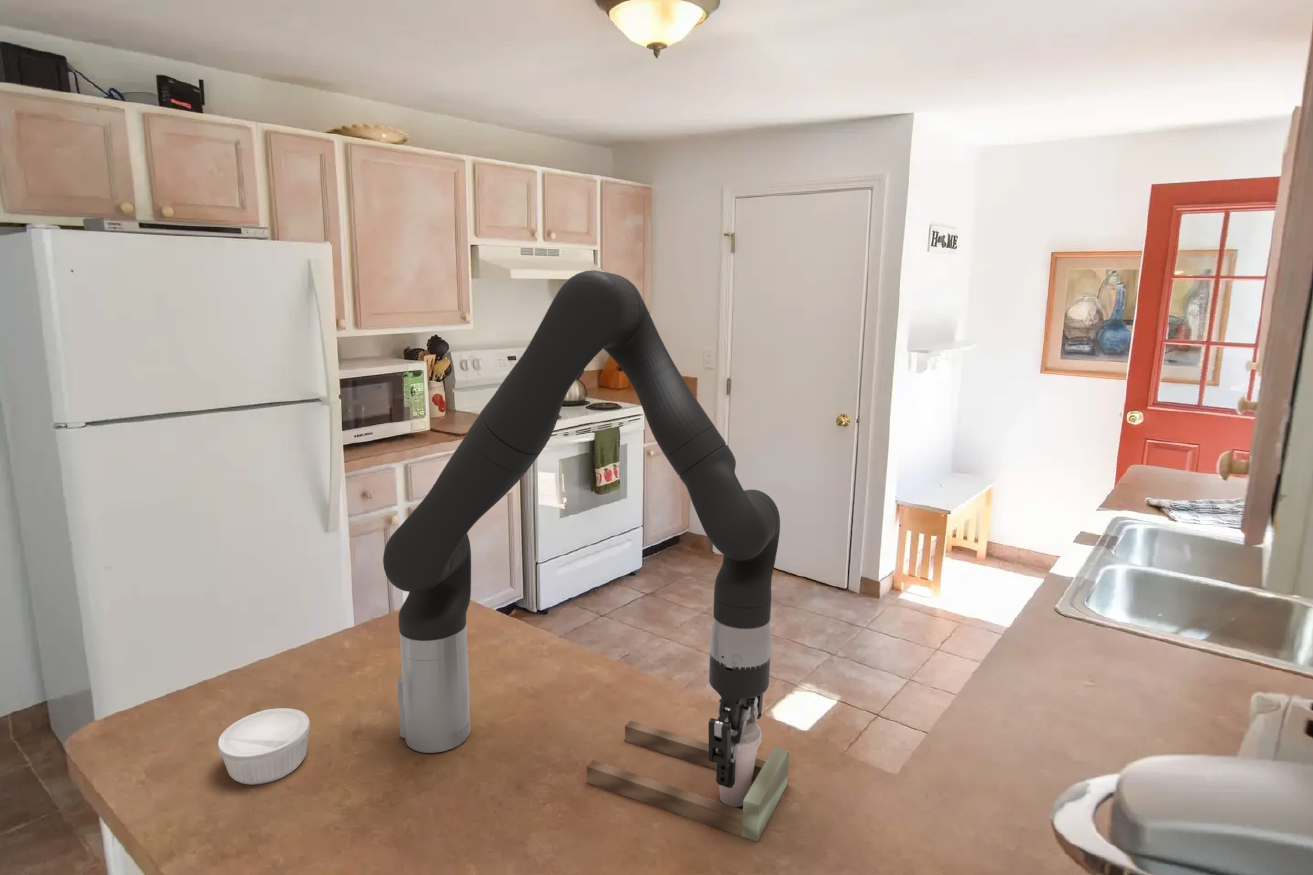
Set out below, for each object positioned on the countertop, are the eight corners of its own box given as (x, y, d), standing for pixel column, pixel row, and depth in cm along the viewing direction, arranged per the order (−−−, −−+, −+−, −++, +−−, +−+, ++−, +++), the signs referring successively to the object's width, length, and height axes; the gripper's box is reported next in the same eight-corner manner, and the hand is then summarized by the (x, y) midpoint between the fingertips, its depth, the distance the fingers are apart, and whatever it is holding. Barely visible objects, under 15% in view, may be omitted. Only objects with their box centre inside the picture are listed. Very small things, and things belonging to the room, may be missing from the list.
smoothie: (756, 817, 95) (762, 716, 92) (705, 809, 96) (709, 709, 94) (760, 785, 101) (765, 689, 99) (712, 778, 103) (716, 683, 100)
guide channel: (586, 782, 102) (586, 748, 101) (630, 735, 112) (630, 704, 111) (757, 841, 91) (759, 805, 90) (787, 783, 102) (789, 750, 101)
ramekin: (219, 800, 97) (215, 764, 96) (222, 753, 107) (219, 719, 106) (315, 776, 102) (312, 741, 101) (309, 732, 112) (307, 700, 111)
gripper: (732, 621, 103) (728, 732, 106) (689, 668, 90) (685, 793, 93) (786, 633, 99) (779, 748, 103) (749, 683, 87) (743, 812, 90)
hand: (735, 768), depth 98 cm, fingers closed on smoothie, 6 cm apart
